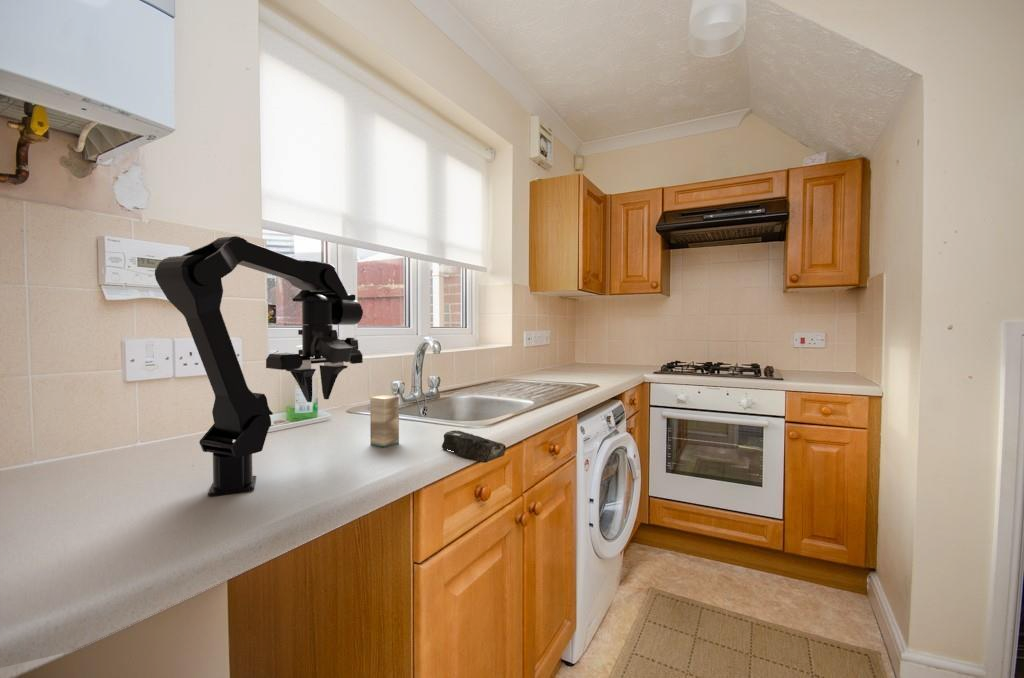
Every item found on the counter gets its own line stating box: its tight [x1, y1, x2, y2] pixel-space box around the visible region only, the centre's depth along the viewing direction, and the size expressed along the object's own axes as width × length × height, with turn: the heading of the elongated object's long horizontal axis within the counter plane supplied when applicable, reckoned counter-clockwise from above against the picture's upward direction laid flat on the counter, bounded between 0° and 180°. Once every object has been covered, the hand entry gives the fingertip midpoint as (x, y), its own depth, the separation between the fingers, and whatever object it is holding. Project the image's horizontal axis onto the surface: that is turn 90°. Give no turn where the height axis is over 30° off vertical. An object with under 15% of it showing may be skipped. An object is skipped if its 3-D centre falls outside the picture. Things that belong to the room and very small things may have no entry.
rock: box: [441, 430, 507, 464], centre depth 99 cm, size 8×16×4 cm, turn 56°
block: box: [369, 394, 400, 449], centre depth 105 cm, size 4×4×11 cm
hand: (317, 400), depth 94 cm, fingers open, 4 cm apart
